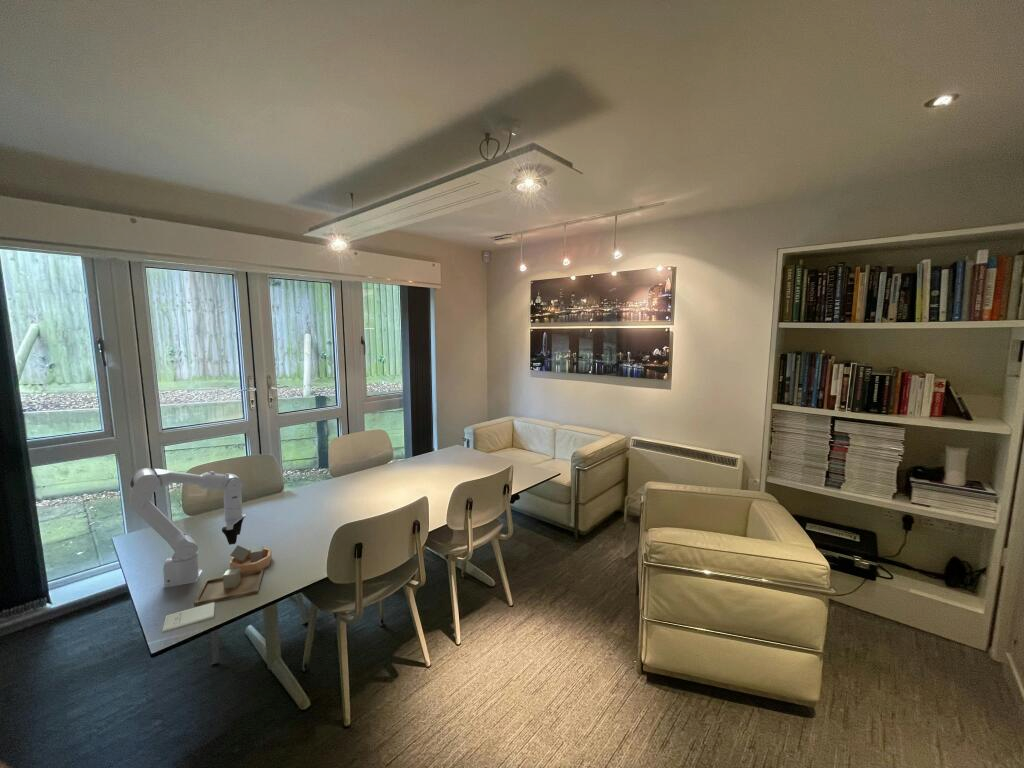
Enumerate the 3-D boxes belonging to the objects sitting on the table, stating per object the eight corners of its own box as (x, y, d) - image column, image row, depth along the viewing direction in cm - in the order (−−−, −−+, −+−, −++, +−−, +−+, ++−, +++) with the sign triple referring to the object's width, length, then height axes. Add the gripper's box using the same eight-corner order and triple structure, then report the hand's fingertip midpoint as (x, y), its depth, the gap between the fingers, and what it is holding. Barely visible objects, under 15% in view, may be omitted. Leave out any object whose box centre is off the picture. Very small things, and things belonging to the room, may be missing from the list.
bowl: (228, 578, 148) (227, 568, 148) (235, 560, 160) (235, 550, 159) (268, 571, 153) (268, 561, 153) (272, 554, 165) (272, 545, 165)
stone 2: (223, 588, 142) (222, 575, 141) (228, 582, 145) (227, 569, 144) (236, 587, 142) (235, 574, 142) (240, 581, 146) (240, 568, 145)
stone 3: (250, 564, 156) (250, 552, 156) (252, 560, 159) (251, 548, 159) (262, 562, 158) (262, 550, 157) (263, 558, 161) (263, 546, 160)
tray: (194, 606, 133) (193, 602, 132) (205, 583, 145) (205, 579, 145) (257, 594, 140) (257, 590, 140) (263, 572, 152) (263, 569, 152)
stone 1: (242, 561, 153) (229, 555, 152) (243, 561, 155) (231, 555, 154) (250, 550, 155) (237, 545, 154) (251, 551, 158) (238, 545, 157)
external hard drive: (214, 620, 127) (162, 635, 120) (215, 605, 134) (166, 619, 127) (213, 615, 127) (162, 630, 120) (214, 601, 134) (166, 614, 127)
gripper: (241, 512, 150) (243, 546, 152) (248, 497, 163) (250, 529, 165) (218, 514, 147) (220, 549, 149) (228, 499, 161) (229, 532, 162)
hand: (234, 539), depth 157 cm, fingers open, 7 cm apart
